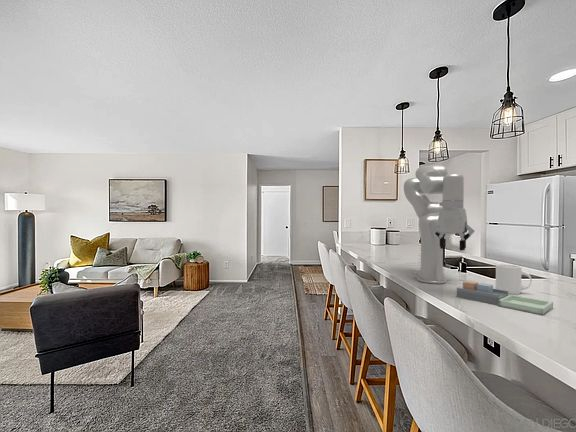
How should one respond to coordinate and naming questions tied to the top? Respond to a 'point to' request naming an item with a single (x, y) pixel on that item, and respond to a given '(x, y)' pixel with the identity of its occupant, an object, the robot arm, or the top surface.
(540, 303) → the tray
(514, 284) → the mug
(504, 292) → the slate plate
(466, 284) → the tan small block
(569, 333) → the top surface
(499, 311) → the top surface
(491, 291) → the tile front
